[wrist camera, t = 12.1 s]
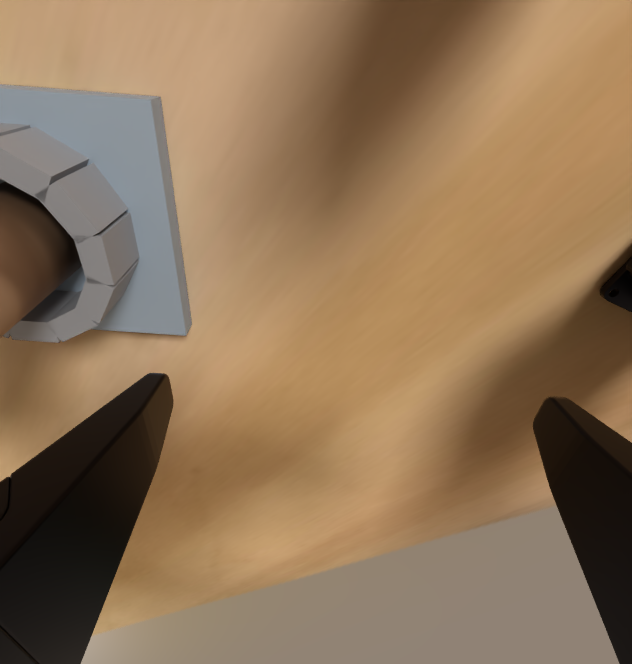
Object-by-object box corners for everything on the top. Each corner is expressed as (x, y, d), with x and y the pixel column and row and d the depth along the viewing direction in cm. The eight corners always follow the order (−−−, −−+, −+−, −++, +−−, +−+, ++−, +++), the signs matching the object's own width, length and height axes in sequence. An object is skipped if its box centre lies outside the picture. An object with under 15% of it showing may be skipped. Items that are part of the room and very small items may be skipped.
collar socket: (160, 96, 17) (119, 108, 14) (192, 323, 24) (169, 369, 21) (-144, 73, 17) (-262, 79, 14) (-25, 309, 24) (-83, 352, 21)
